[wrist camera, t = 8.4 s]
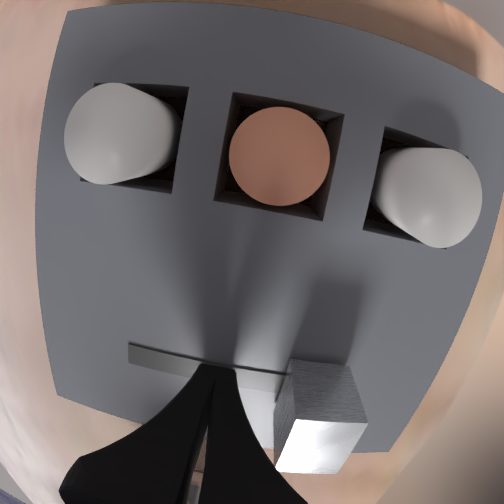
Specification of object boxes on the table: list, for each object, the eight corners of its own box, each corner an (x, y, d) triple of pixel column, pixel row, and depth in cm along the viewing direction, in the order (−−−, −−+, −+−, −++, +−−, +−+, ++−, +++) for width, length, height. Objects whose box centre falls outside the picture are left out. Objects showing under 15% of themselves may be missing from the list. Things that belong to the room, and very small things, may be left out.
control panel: (80, 364, 17) (56, 395, 14) (100, 30, 11) (66, 10, 8) (376, 416, 17) (389, 453, 14) (477, 105, 11) (517, 101, 8)
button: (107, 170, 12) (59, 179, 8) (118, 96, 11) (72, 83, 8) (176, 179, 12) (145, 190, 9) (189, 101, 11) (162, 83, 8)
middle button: (232, 184, 13) (221, 195, 10) (245, 112, 12) (238, 98, 9) (305, 198, 13) (318, 214, 10) (319, 127, 12) (338, 119, 9)
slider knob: (273, 412, 13) (274, 471, 10) (290, 358, 12) (296, 419, 9) (326, 417, 13) (336, 473, 10) (349, 365, 12) (368, 423, 9)
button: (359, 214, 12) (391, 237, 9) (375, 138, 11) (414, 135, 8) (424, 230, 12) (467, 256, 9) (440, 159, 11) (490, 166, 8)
